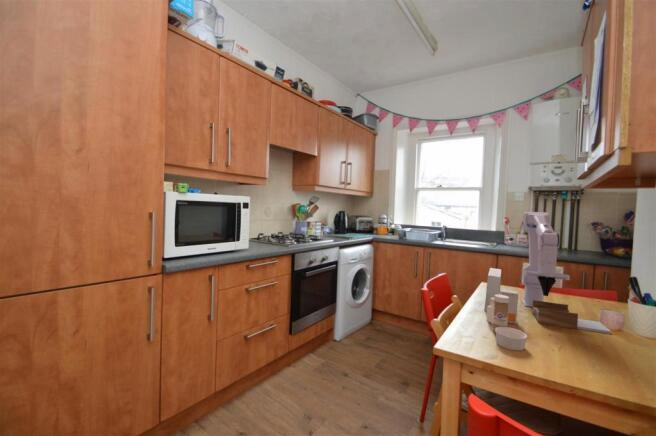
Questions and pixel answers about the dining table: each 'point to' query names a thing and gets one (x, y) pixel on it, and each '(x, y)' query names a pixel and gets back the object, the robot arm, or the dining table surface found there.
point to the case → (554, 314)
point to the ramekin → (510, 338)
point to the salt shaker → (490, 311)
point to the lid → (592, 326)
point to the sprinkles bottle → (500, 311)
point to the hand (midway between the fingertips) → (545, 295)
